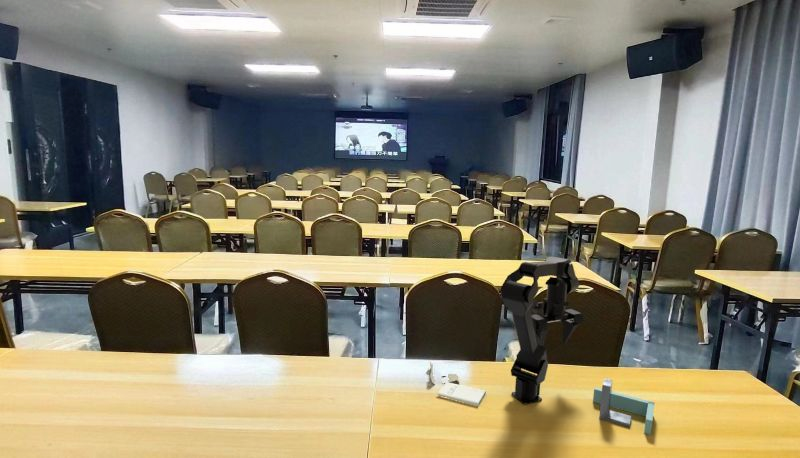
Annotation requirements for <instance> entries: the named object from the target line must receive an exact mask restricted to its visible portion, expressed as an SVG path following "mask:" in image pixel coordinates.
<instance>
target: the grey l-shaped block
mask: <svg viewBox="0 0 800 458" xmlns="http://www.w3.org/2000/svg"><path fill="white" fill-rule="evenodd" d="M601 389H602V395H601V404H599V405H600V408H599V415H598V418H599V420H603V421H606V422H609V423H613V424H615V425H619V426H623V427H627V428H630V427H631V421H632V415H628V414H625V413H622V412H618V411H614V410H611V409H610V408H611V407H610V401H611V391H612V389H613V379H610V378H606V377H604V380H603V382H602V387H601ZM612 392H613V391H612Z"/></svg>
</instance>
